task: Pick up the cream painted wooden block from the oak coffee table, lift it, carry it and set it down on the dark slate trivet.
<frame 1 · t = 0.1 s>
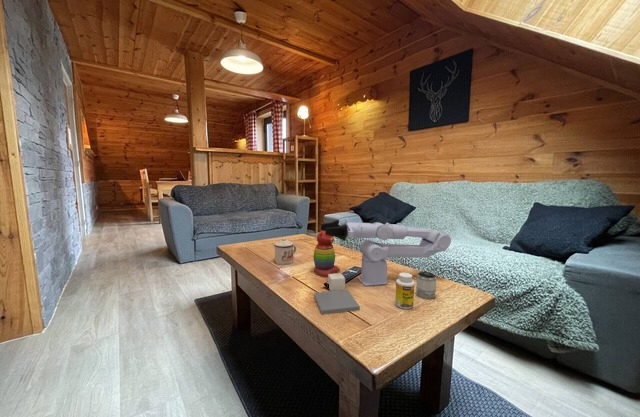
hand: (323, 229, 96), 22 cm above the table, tool horizontal, fingers open, 7 cm apart
trivet: (335, 302, 85), on the table
stacking bear: (324, 272, 113), on the table
teacup with lid: (286, 261, 126), on the table
block: (336, 289, 95), on the table
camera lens: (425, 295, 91), on the table
supplement bottle: (404, 306, 84), on the table
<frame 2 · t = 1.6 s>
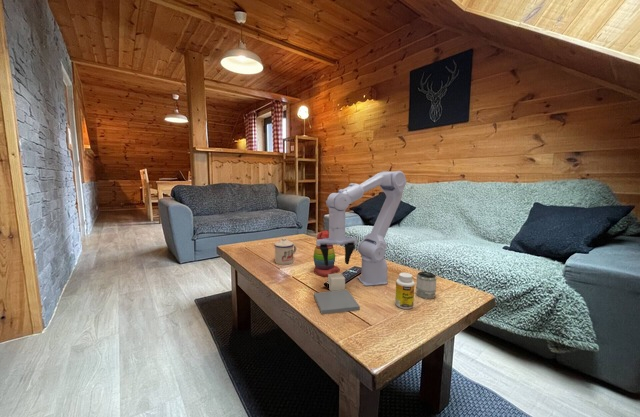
hand: (336, 264, 94), 9 cm above the table, tool pointing down, fingers open, 7 cm apart
nothing on the table moved.
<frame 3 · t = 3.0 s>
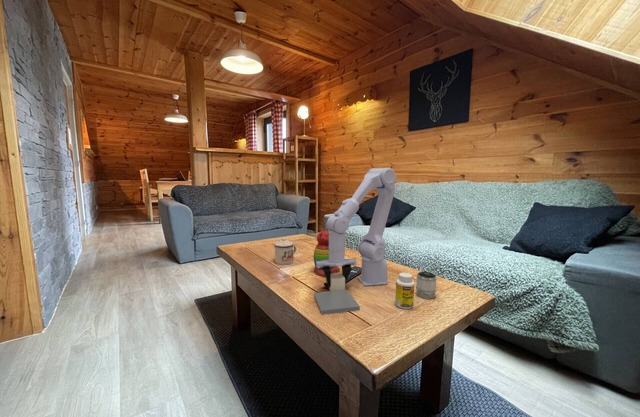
hand: (336, 285, 95), 1 cm above the table, tool pointing down, fingers closed on block, 5 cm apart
block: (336, 289, 95), on the table, touching gripper
everything else where it was.
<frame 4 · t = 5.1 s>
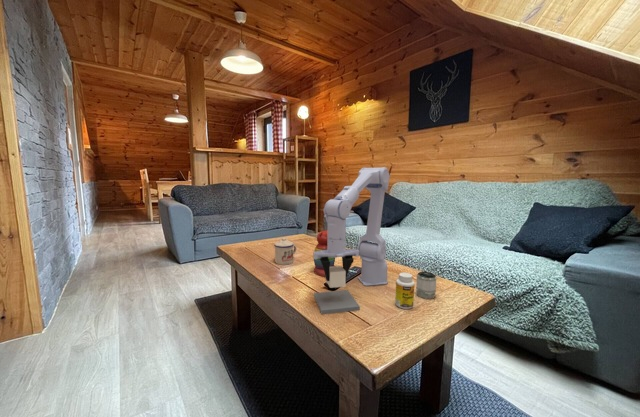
hand: (335, 279, 84), 8 cm above the table, tool pointing down, fingers closed on block, 5 cm apart
block: (335, 283, 85), point 6 cm above the table, touching gripper
everything else where it was.
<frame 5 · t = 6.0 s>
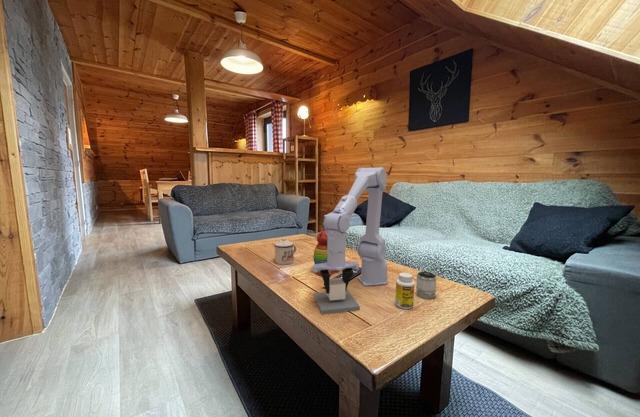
hand: (335, 291, 85), 4 cm above the table, tool pointing down, fingers closed on block, 5 cm apart
block: (335, 296, 85), point 2 cm above the table, touching gripper
everything else where it was.
when the fingers open (4 cm above the table, at t = 6.7 s): block stays where it is, resting on trivet.
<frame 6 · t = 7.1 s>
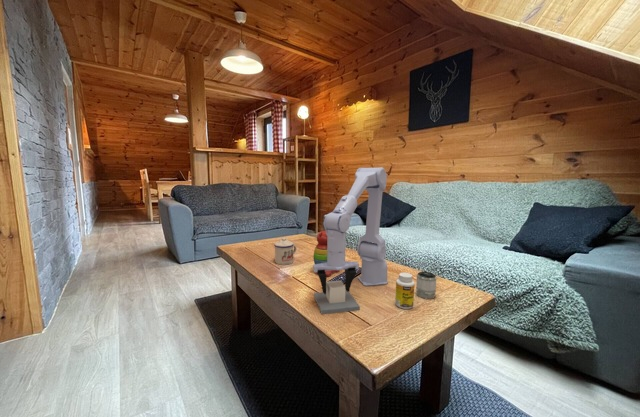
hand: (335, 291, 85), 4 cm above the table, tool pointing down, fingers open, 7 cm apart
block: (335, 298, 85), point 1 cm above the table, touching trivet
everything else where it was.
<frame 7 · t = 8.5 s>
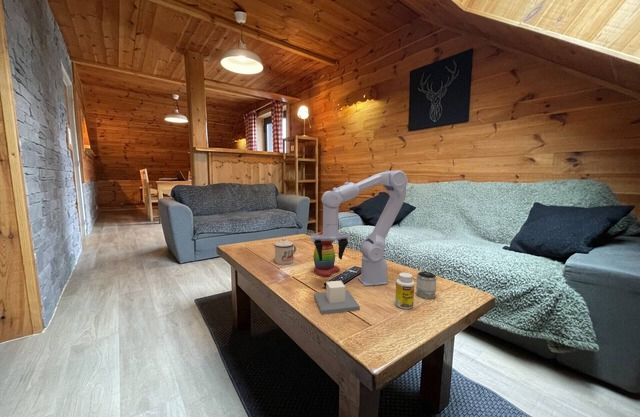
hand: (330, 259, 98), 10 cm above the table, tool pointing down, fingers open, 7 cm apart
nothing on the table moved.
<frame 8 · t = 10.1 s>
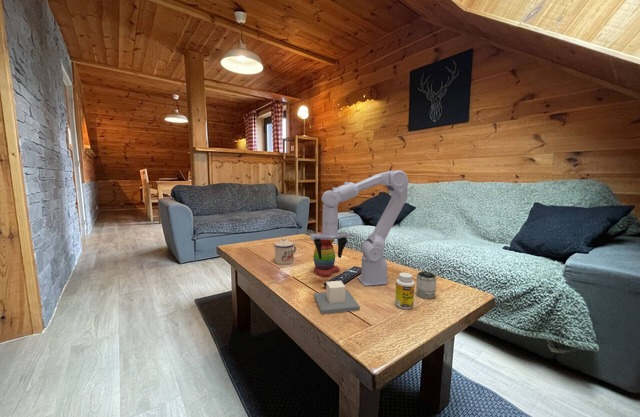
hand: (329, 257, 100), 10 cm above the table, tool pointing down, fingers open, 7 cm apart
nothing on the table moved.
at the end: block inside the target area on the trivet (0.3 cm from its centre), point 1.2 cm above the trivet's base; block tilted 0°; the gripper is holding nothing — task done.
